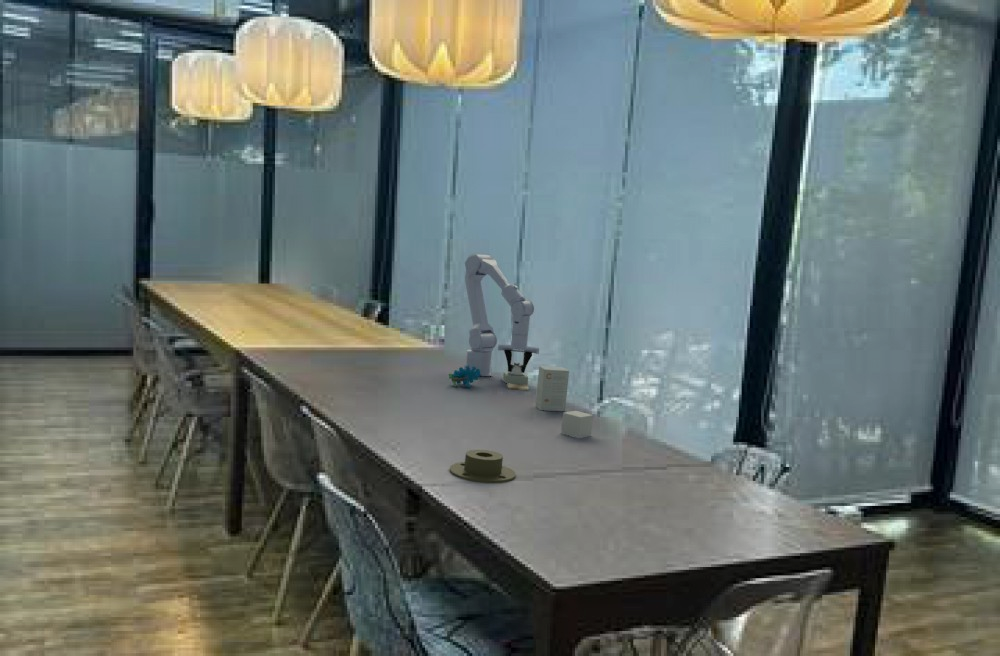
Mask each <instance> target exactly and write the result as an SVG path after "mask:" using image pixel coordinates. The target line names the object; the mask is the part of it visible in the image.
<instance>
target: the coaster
mask: <svg viewBox="0 0 1000 656" xmlns="http://www.w3.org/2000/svg"><path fill="white" fill-rule="evenodd" d="M506 386H508V387H507V389H508V388H509V389H508V390H517V389H518V391H519V390H520V391H530V388H529V386H528V384H527V385H521V384H509V383H507V384H506Z"/></svg>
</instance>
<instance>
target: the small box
mask: <svg viewBox="0 0 1000 656" xmlns="http://www.w3.org/2000/svg"><path fill="white" fill-rule="evenodd" d="M569 374H570V371H569V370H568V369H567V368H565V367H562V366H561V367H560V366H545V365H544V366H543V365H542V366H541V365H539V366H538V375H537V386H536V393H535V394H536V397H535V407H536V408H537V409H538V408H539V409H538V410H540V411H543V410H544V411H545V412H546V411H548V412H552V411H553V412H565V411H566V403H567V397H568V396H567V395H568V387H569V386H568V385H569V384H568V383H569V376H570V375H569Z"/></svg>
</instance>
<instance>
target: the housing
mask: <svg viewBox="0 0 1000 656" xmlns="http://www.w3.org/2000/svg"><path fill="white" fill-rule="evenodd" d="M502 375H503V376H502V380H503V379H504V381H503V383H504V382H505V383H510V384H521V385H527V386H528V382H529V381H528V380H529V377H528V374H527V373H525V372H524V373H522V376H514V375H510V372H508V371H503V374H502ZM505 383H504V384H505Z"/></svg>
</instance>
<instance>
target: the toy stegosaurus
mask: <svg viewBox="0 0 1000 656" xmlns="http://www.w3.org/2000/svg"><path fill="white" fill-rule="evenodd" d="M475 370H476V371H475ZM476 373H477V374H476ZM479 377H482V376H481V374H480V369H476V367H474V366H473V367H472V370H470V367H469V366H466V370H465V369H464V368H463V367H462V366H461V367H459V368H458V370H454V371H453V373H448V379H449V380H451V382H452V383H453V387H454V388H457V384H458V385H460V384H461V383H463V385H466V387H467V389H470V388H471V384H473V383H474V380H475V381H478V380H479Z"/></svg>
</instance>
